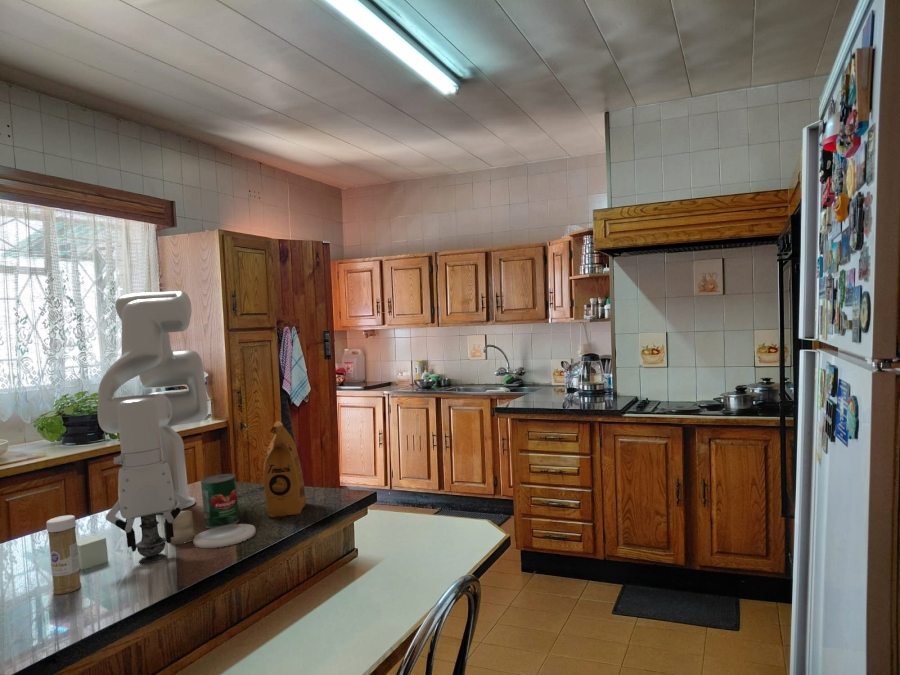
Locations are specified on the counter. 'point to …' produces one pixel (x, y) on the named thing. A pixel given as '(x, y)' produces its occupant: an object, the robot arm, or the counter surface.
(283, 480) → the coffee package
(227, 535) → the plate
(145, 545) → the dark grey chess piece
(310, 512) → the counter surface
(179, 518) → the beige rounded cylinder
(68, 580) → the sprinkles bottle
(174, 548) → the counter surface
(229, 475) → the canned tomato
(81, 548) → the sage block
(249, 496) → the counter surface
